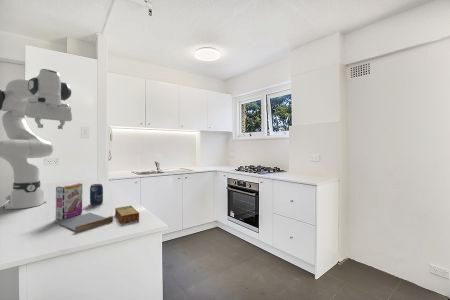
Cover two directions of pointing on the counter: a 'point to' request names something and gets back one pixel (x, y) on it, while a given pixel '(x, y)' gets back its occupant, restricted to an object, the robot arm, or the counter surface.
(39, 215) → the counter surface
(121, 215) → the carton
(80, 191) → the candy bar box
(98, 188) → the soda can
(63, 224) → the mat
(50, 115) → the robot arm
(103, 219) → the stop rail
